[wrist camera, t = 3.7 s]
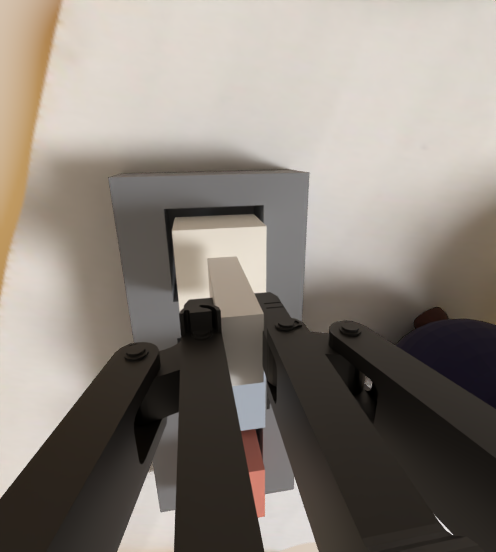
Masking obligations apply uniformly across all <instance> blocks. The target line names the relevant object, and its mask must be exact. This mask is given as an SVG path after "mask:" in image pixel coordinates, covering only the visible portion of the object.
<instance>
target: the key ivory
mask: <svg viewBox="0 0 496 552" xmlns="http://www.w3.org/2000/svg"><path fill="white" fill-rule="evenodd" d="M172 238H173V248H174V258H175V269H176V279H177V290H178V300H179V310H180V311H181V310H182V309H183V308H184V304H185V303H186V302H187V301H188V300H189V299H201V298H210V296H209V279H208V263H207V258H219V257H234V256H237V258H238V260H239V263H240V265H241V267H242V269H243V271H244V273H245V275H246V277H247V279H248V281H249V284H250V286H251V288H252V290H253V292H254V293H264V292H266V238H267V226H266V225H265V224H264V223H263V222H262V221H261V220H259V219H258V218H257V217H256V216H255V215H254V214H240V215H216V216H193V217H175V219H174V223H173V228H172Z"/></svg>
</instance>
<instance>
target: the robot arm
mask: <svg viewBox="0 0 496 552" xmlns="http://www.w3.org/2000/svg"><path fill="white" fill-rule="evenodd" d="M207 263H208V279H209V296H210V298H201V299H189V300H188V301H187V302H186V303H185V304H184V308H183V309H182V310H181V311H180V313H179V320H180V330H181V341H180V342H179V343H177V344H176V345H174V346H172V347H170V348H167V349H165V350H161V351H159V349H158V347H157V346H156V345H154V344H152V343H148V342H136V343H133V344H132V343H131V344H128V345H126V346H124V347H122V348H120V349H119V350H118V351H117V352H116V353H115V354H114V355H113V356H112V357H111V359H110V360H109V361H108V362H107V364H106V365H105V366H104V368H103V369H102V370H101V371H100V373H99V374H98V375H97V376H96V378H95V379H94V380H93V382H92V383H91V384H90V385H89V387H88V388H87V389H86V390H85V392H84V393H83V394H82V396H81V397H80V398H79V399H78V401H77V402H76V403H75V404H74V406H73V407H72V408H71V410H70V411H69V412H68V413H67V415H66V416H65V417H64V418H63V420H62V421H61V422H60V424H59V425H58V426H57V427H56V429H55V430H54V431H53V432H52V434H51V435H50V436H49V438H48V439H47V440H46V441H45V443H44V444H43V445H42V446H41V448H40V449H39V450H38V452H37V453H36V454H35V455H34V457H33V458H32V459H31V460H30V462H29V463H28V464H27V466H26V467H25V468H24V469H23V471H22V472H21V473H20V474H19V476H18V477H17V478H16V480H15V481H14V482H13V483H12V485H11V486H10V487H9V488H8V490H7V491H6V492H5V493H4V495H3V496H2V497H1V499H0V552H117V550H118V548H119V545H120V543H121V540H122V537H123V535H124V532H125V530H126V527H127V525H128V522H129V519H130V517H131V514H132V512H133V509H134V507H135V504H136V501H137V499H138V496H139V494H140V491H141V489H142V486H143V483H144V481H145V478H146V476H147V473H148V471H149V468H150V465H151V463H152V460H153V458H154V455H155V453H156V450H157V447H158V445H159V442H160V440H161V437H162V435H163V432H164V429H165V427H166V424H167V416H170V415H172V414H175V413H178V412H179V418H178V448H177V479H176V509H175V539H174V552H264V548H263V543H262V538H261V532H260V527H259V522H258V517H257V512H256V507H255V501H254V496H253V491H252V486H251V481H250V476H249V471H248V465H247V460H246V455H245V450H244V445H243V440H242V434H241V429H240V424H239V419H238V414H237V409H236V404H235V398H234V393H233V388H232V386H238V385H246V384H254V383H262V382H264V372H265V375H266V378H267V386H266V409H270V403H271V406H272V410H273V413H274V416H275V419H276V422H277V425H278V428H279V431H280V434H281V437H282V440H283V443H284V446H285V449H286V452H287V455H288V459H289V462H290V465H291V468H292V471H293V474H294V477H295V480H296V483H297V486H298V489H299V492H300V495H301V498H302V501H303V504H304V508H305V511H306V514H307V517H308V520H309V523H310V526H311V529H312V532H313V535H314V538H315V541H316V544H317V547H318V550H319V552H496V409H495V408H493V407H492V406H490V405H488V404H487V403H485V402H484V401H482V400H481V399H479V398H477V397H476V396H474V395H473V394H471V393H470V392H468V391H466V390H465V389H463V388H462V387H460V386H459V385H457V384H455V383H454V382H452V381H451V380H449V379H448V378H446V377H444V376H443V375H441V374H440V373H438V372H437V371H435V370H433V369H432V368H430V367H429V366H427V365H426V364H424V363H422V362H421V361H419V360H418V359H416V358H415V357H413V356H411V355H410V354H408V353H407V352H405V351H404V350H402V349H400V348H399V347H397V346H396V345H394V344H393V343H391V342H389V341H388V340H386V339H385V338H383V337H382V336H380V335H378V334H377V333H375V332H374V331H372V330H371V329H369V328H367V327H366V326H364V325H362V324H359V323H356V322H353V321H340V322H336V323H333V324H332V325H331V326H330V328H329V334H328V333H316V332H310V331H309V330H308V329H307V327H306V326H305V324H304V323H303V322H301V321H300V320H297V319H295V318H291V317H290V315H289V313H288V312H287V310H286V309H285V307H284V305H283V304H282V303H281V301H280V299H279V298H278V296H276V295H274V294H273V293H271V292H264V293H254V292H253V290H252V288H251V286H250V284H249V281H248V279H247V277H246V275H245V273H244V271H243V269H242V267H241V265H240V263H239V260H238V258H237V256H234V257H219V258H207ZM365 376H367V377H368V378H369V379H371V381H372V382H373V383H372V388H369V387H368V386H367V385H365V384H364V383H365ZM435 516H436V517H437V518H438V519H439V520H440V521H441V522H442V523H443V524H444V525H445V526H446V527H447V528H448V529H449V531H450V532H451V533H452V534H453V535H451V534H450V533H449V532H447V531H446V530H445V529H444V528H443V526H442V525H441V524H440V523H439V521H438V520H437V518H436V517H435Z"/></svg>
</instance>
